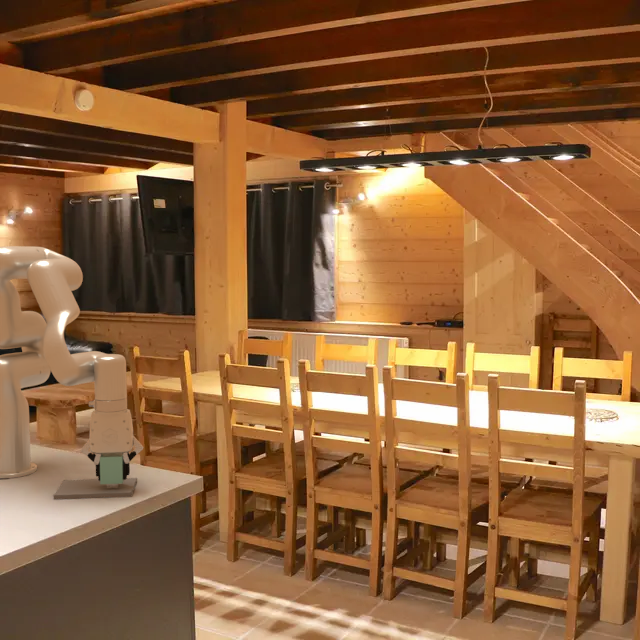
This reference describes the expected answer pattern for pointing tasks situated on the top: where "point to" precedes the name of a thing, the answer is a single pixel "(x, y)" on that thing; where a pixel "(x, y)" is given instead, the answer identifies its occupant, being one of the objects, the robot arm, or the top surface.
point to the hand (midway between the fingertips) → (113, 477)
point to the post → (112, 486)
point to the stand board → (93, 489)
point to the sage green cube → (111, 468)
